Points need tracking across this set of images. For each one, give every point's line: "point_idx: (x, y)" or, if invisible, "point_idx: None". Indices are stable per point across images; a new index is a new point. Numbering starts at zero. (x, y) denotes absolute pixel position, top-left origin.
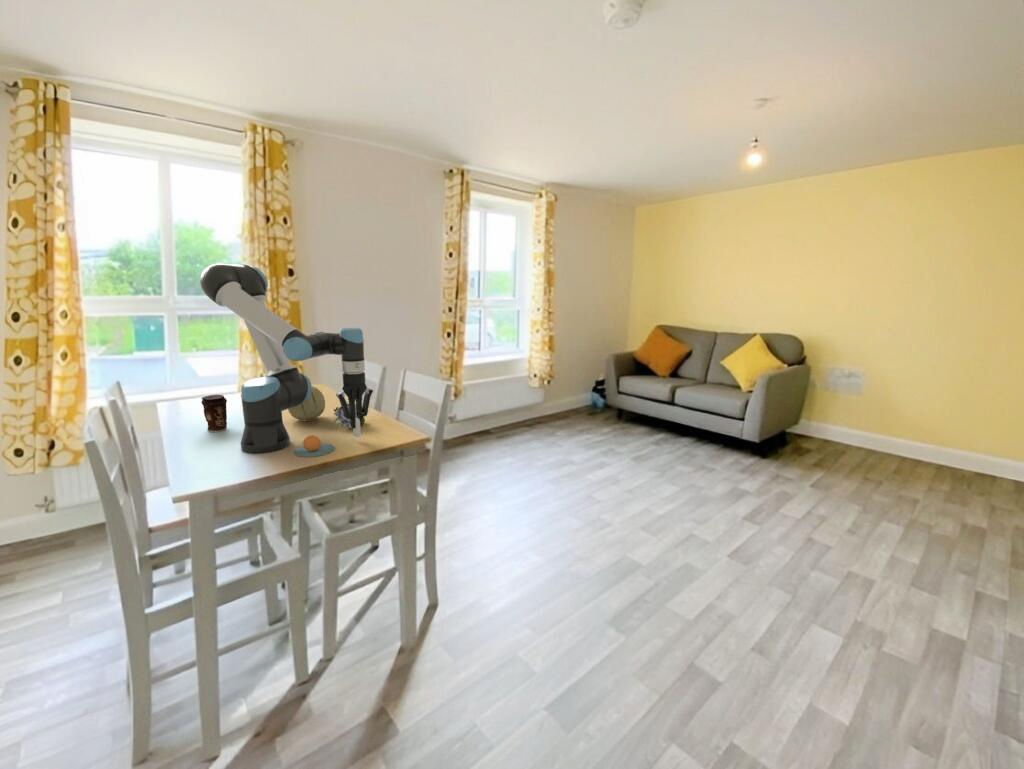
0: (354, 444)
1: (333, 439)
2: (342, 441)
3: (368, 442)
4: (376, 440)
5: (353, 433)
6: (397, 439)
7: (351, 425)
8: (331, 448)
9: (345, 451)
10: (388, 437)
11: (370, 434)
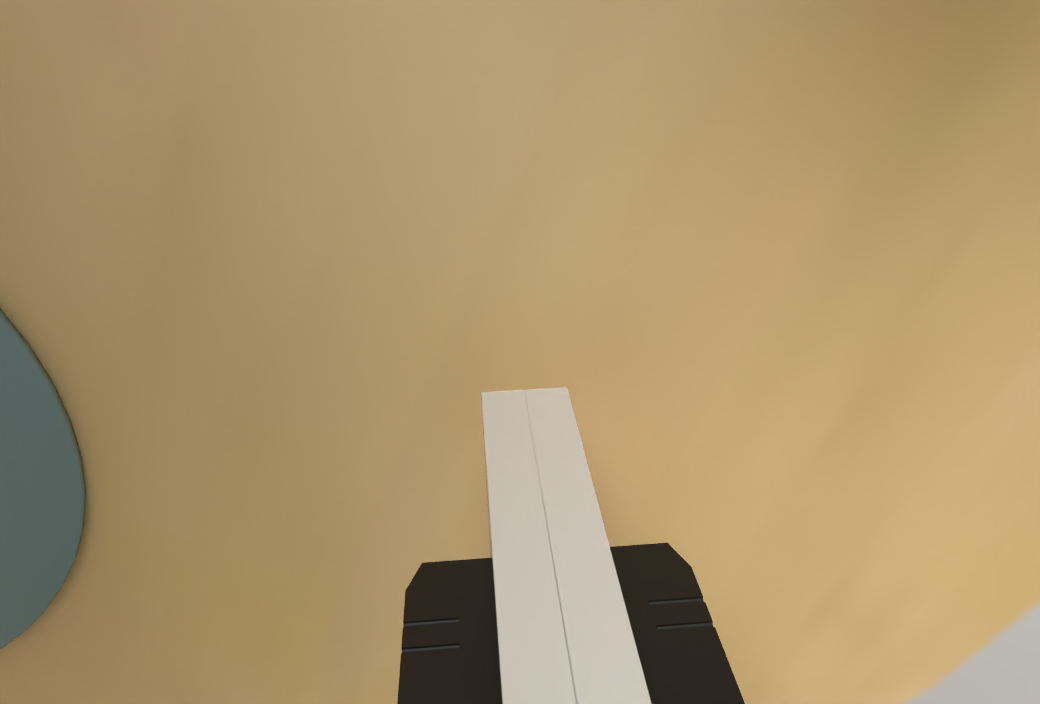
0: (413, 517)
1: (127, 36)
2: (277, 278)
3: (627, 541)
4: (766, 523)
5: (483, 415)
6: (994, 621)
7: (414, 642)
8: (18, 537)
9: (209, 688)
10: (979, 496)
11: (892, 188)
